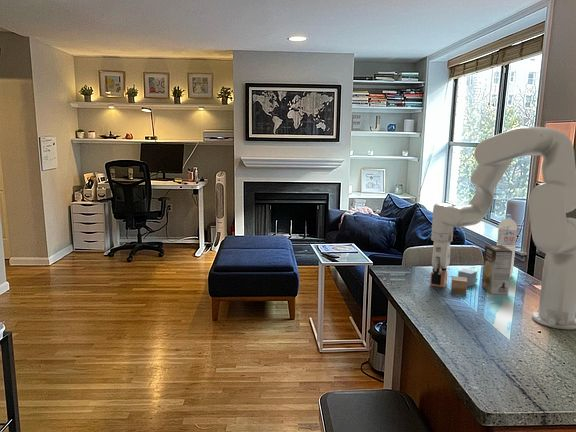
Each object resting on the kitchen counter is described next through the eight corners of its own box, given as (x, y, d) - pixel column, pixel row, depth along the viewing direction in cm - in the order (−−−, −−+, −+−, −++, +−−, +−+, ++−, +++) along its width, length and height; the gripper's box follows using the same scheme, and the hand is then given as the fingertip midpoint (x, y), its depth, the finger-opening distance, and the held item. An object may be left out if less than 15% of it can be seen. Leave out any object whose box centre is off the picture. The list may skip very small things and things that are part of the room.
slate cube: (470, 286, 167) (471, 273, 166) (457, 283, 170) (458, 271, 169) (475, 283, 170) (477, 271, 169) (463, 280, 174) (464, 268, 173)
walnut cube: (466, 295, 157) (467, 281, 156) (450, 293, 159) (452, 279, 158) (465, 290, 162) (466, 277, 161) (451, 289, 163) (452, 276, 163)
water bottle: (493, 276, 180) (499, 215, 176) (494, 271, 186) (499, 212, 182) (512, 278, 177) (518, 216, 173) (512, 274, 183) (518, 214, 179)
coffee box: (480, 286, 167) (484, 244, 164) (497, 286, 167) (501, 244, 164) (491, 294, 158) (495, 250, 155) (509, 294, 158) (513, 250, 155)
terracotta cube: (443, 287, 165) (444, 274, 164) (430, 285, 168) (431, 272, 167) (446, 284, 169) (447, 271, 169) (433, 281, 172) (434, 269, 171)
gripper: (447, 242, 156) (444, 288, 159) (456, 233, 171) (453, 276, 174) (426, 239, 160) (423, 285, 163) (436, 231, 175) (433, 273, 178)
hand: (438, 280), depth 168 cm, fingers open, 9 cm apart
